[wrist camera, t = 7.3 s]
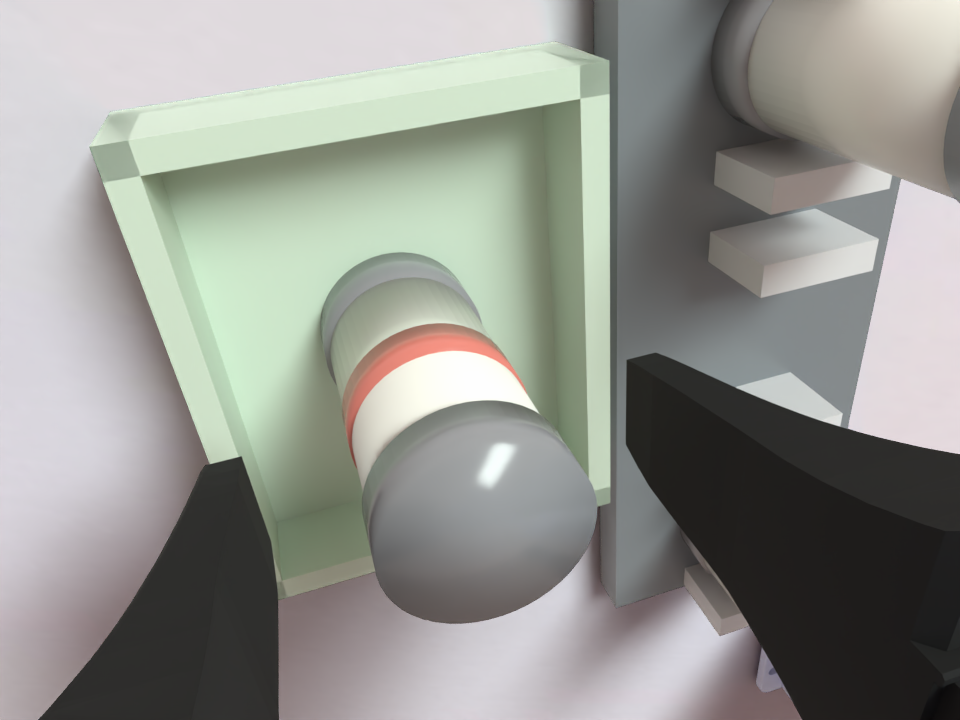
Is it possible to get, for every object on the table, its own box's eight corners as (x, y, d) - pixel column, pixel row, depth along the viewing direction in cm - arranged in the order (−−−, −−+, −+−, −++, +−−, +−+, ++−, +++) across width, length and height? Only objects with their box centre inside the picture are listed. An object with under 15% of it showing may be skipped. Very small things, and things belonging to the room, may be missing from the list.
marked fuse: (477, 366, 19) (600, 583, 13) (338, 403, 18) (397, 650, 12) (458, 236, 17) (593, 416, 11) (302, 272, 16) (350, 486, 10)
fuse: (840, 114, 18) (1174, 217, 11) (705, 140, 17) (984, 266, 11) (868, -59, 16) (1288, -47, 9) (717, -37, 15) (1065, -9, 9)
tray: (570, 444, 22) (610, 503, 20) (258, 529, 20) (263, 604, 18) (555, 41, 16) (609, 60, 14) (110, 112, 14) (89, 147, 12)
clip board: (801, 518, 27) (868, 587, 24) (600, 581, 26) (647, 663, 23) (923, -133, 16) (1066, -144, 14) (592, -93, 15) (678, -97, 12)
